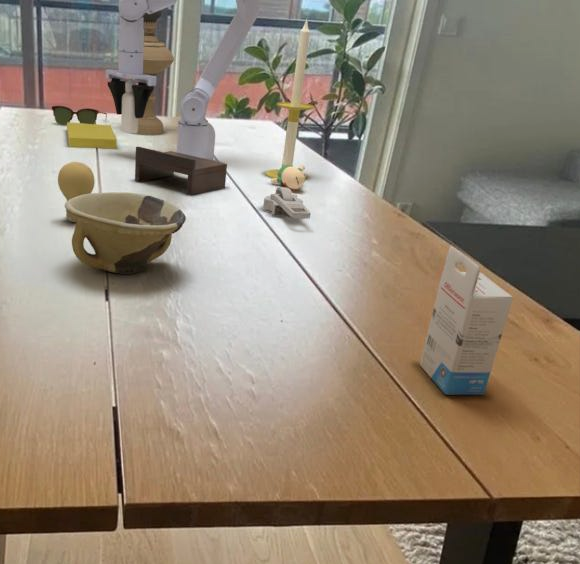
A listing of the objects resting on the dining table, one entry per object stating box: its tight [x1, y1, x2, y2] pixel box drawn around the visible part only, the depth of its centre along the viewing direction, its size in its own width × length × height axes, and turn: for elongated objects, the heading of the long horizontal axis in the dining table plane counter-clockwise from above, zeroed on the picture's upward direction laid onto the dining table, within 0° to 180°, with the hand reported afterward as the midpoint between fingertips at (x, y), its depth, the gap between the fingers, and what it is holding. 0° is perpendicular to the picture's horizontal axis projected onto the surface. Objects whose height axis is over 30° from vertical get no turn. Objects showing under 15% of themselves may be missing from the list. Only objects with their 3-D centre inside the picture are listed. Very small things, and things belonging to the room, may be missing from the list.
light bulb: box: [57, 161, 96, 223], centre depth 136 cm, size 6×6×10 cm
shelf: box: [134, 146, 228, 196], centre depth 167 cm, size 12×16×7 cm
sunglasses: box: [51, 105, 108, 126], centre depth 229 cm, size 14×15×5 cm
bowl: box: [64, 191, 187, 275], centre depth 115 cm, size 18×18×10 cm
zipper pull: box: [262, 186, 312, 219], centre depth 149 cm, size 8×18×4 cm, turn 7°
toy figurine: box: [270, 164, 306, 191], centre depth 172 cm, size 8×4×12 cm
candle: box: [264, 19, 315, 180], centre depth 175 cm, size 10×10×32 cm
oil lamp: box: [133, 10, 175, 136], centre depth 213 cm, size 15×15×40 cm
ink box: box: [419, 245, 514, 396], centre depth 87 cm, size 9×5×15 cm, turn 5°
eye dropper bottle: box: [120, 78, 138, 134], centre depth 184 cm, size 4×6×12 cm
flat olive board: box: [66, 121, 117, 150], centre depth 207 cm, size 12×2×24 cm
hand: (129, 115), depth 185 cm, fingers closed on eye dropper bottle, 5 cm apart
